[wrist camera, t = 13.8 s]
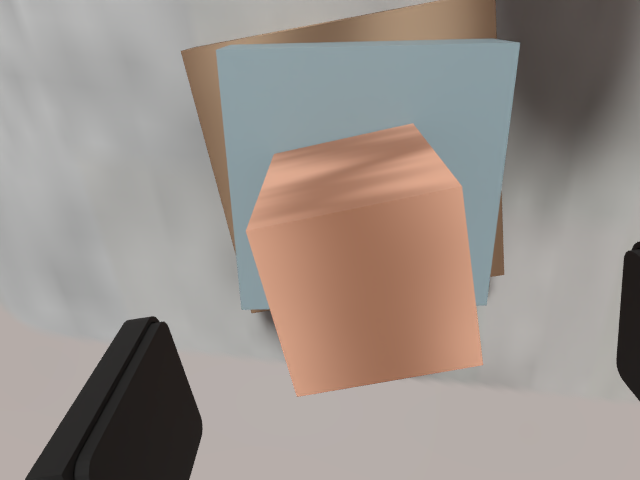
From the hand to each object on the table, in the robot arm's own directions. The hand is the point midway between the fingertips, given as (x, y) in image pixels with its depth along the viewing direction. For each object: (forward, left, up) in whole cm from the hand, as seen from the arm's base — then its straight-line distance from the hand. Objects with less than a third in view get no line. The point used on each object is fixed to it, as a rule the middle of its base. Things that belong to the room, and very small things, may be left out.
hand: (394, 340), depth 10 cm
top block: (0, 0, -12) cm, 12 cm away
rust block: (0, 0, -9) cm, 9 cm away
